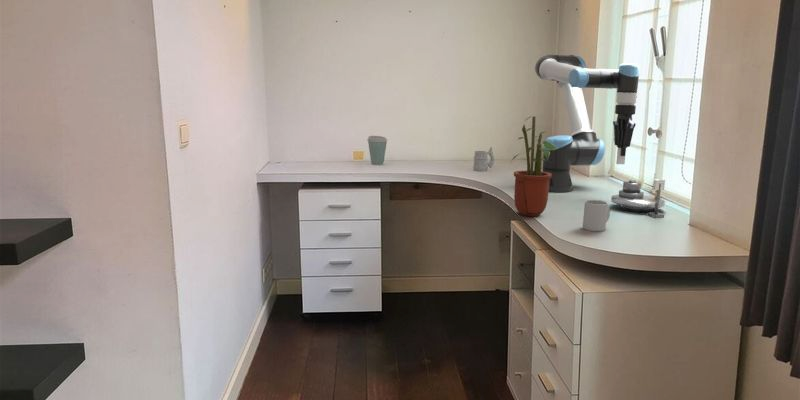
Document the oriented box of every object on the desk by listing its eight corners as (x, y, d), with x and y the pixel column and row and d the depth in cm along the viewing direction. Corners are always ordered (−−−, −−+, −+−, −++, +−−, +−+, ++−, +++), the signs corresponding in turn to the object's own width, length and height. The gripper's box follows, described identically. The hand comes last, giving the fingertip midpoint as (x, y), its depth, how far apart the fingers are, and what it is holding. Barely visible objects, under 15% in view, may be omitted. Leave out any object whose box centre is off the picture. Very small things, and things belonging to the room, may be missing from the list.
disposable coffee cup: (390, 163, 335) (391, 136, 332) (379, 166, 326) (379, 137, 323) (374, 162, 340) (375, 135, 337) (363, 164, 331) (363, 136, 328)
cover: (626, 199, 232) (627, 183, 230) (614, 194, 240) (615, 179, 239) (648, 198, 233) (649, 182, 232) (635, 194, 242) (636, 179, 241)
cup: (577, 227, 201) (579, 201, 199) (599, 224, 206) (601, 198, 204) (594, 232, 195) (597, 205, 193) (616, 229, 200) (618, 202, 198)
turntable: (627, 208, 222) (630, 185, 220) (601, 198, 240) (603, 176, 238) (675, 207, 225) (677, 185, 223) (646, 197, 243) (648, 176, 242)
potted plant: (541, 220, 210) (548, 117, 203) (499, 214, 218) (504, 115, 211) (557, 211, 224) (564, 115, 217) (517, 206, 232) (523, 113, 225)
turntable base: (631, 212, 227) (631, 206, 226) (615, 205, 237) (616, 200, 237) (658, 211, 228) (658, 206, 228) (641, 205, 239) (642, 200, 239)
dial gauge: (653, 217, 218) (657, 180, 216) (644, 213, 224) (648, 178, 222) (664, 217, 219) (668, 180, 217) (654, 213, 225) (658, 178, 222)
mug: (470, 169, 321) (471, 146, 319) (489, 168, 326) (490, 146, 323) (477, 171, 314) (478, 148, 312) (497, 171, 319) (498, 148, 316)
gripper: (643, 105, 234) (638, 166, 238) (625, 103, 246) (620, 161, 251) (625, 104, 233) (620, 166, 237) (608, 103, 245) (603, 161, 250)
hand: (620, 164), depth 244 cm, fingers closed
